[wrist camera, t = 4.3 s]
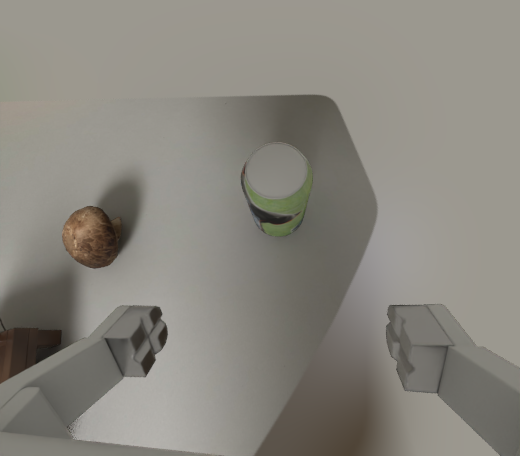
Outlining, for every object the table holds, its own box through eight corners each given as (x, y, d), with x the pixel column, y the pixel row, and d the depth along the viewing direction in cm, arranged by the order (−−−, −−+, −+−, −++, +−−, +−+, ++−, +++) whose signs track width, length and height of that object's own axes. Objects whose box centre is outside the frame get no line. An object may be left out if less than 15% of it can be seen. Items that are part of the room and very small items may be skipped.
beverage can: (279, 185, 32) (264, 112, 22) (323, 220, 30) (332, 156, 19) (244, 219, 32) (210, 160, 21) (286, 258, 29) (273, 214, 18)
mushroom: (121, 190, 33) (68, 195, 27) (149, 245, 32) (101, 260, 27) (95, 217, 37) (43, 226, 31) (119, 266, 36) (72, 284, 31)
